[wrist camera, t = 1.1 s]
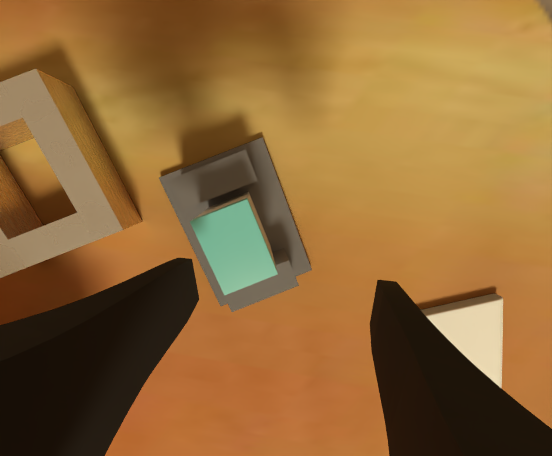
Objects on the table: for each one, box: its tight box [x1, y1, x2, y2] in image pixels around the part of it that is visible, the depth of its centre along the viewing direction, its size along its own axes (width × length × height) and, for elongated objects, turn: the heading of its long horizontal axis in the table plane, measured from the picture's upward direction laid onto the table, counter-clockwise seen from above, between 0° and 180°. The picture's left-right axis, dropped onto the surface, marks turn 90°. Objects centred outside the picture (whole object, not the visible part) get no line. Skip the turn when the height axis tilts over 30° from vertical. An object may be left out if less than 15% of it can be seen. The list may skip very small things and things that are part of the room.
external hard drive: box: [421, 293, 503, 388], centre depth 25 cm, size 2×8×12 cm
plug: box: [190, 192, 278, 295], centre depth 17 cm, size 3×4×6 cm
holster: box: [159, 137, 312, 312], centre depth 18 cm, size 8×11×4 cm
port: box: [0, 69, 142, 278], centre depth 17 cm, size 9×10×3 cm
